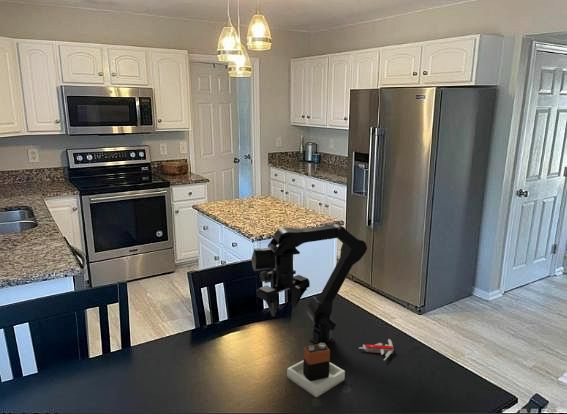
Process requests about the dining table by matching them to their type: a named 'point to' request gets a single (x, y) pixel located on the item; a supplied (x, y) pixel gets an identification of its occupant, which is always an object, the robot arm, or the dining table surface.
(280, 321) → the dining table surface
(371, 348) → the swiss army knife
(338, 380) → the parts tray
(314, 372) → the battery
